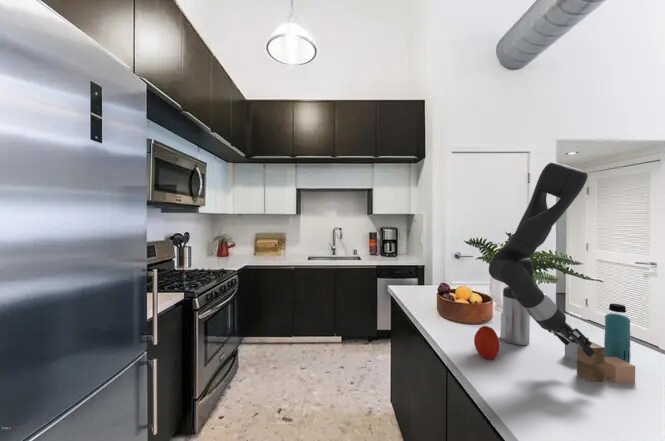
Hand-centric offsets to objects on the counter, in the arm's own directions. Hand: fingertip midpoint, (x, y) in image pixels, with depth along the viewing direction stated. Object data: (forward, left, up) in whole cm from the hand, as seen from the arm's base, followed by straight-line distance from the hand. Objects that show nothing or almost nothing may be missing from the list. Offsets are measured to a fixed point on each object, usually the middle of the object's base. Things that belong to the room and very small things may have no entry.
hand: (579, 348), depth 93 cm
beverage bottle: (+17, +13, -9) cm, 23 cm away
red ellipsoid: (-24, +9, -9) cm, 27 cm away
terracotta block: (+11, +3, -9) cm, 15 cm away
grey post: (+6, +15, -9) cm, 19 cm away
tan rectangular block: (+3, +1, -9) cm, 10 cm away
